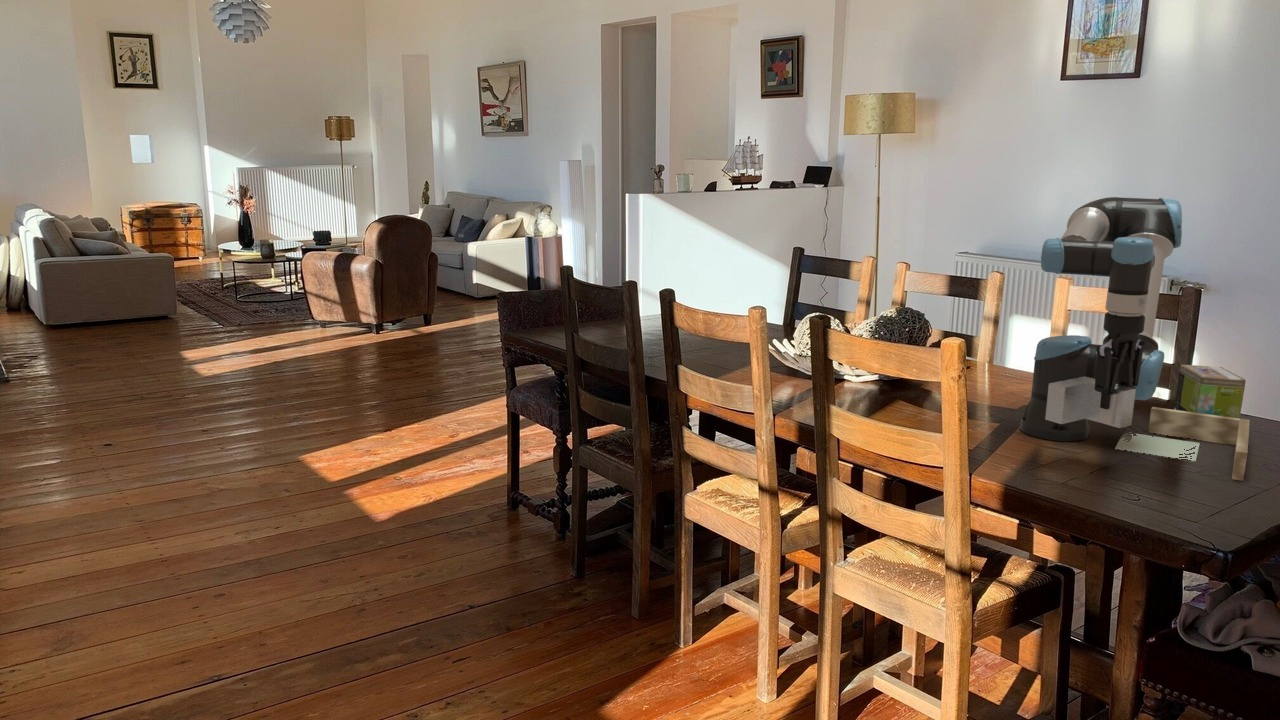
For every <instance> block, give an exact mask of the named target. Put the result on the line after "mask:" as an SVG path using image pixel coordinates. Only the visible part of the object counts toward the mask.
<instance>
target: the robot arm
mask: <svg viewBox="0 0 1280 720" xmlns="http://www.w3.org/2000/svg"><path fill="white" fill-rule="evenodd" d="M1182 209H1183V208H1182V205H1181V203H1180V202H1179V201H1178V200H1176V199H1171V198H1170V199H1168V198H1166V199H1165V198H1163V197H1160V198H1142V197H1139V198H1138V197H1118V196H1117V197H1116V196H1110V197H1104V198H1099V199H1095V200H1091V201H1090V202H1087V203H1085V204H1083V205H1081V206H1080V207H1078V208H1077V209H1075V210H1074V211H1073V212H1072V213H1071V215H1070V216H1069V218H1068V220H1067V224H1066V230H1065V232H1064V233H1063V235H1062V236H1061V238H1059V237H1057V238H1047V239H1046V240H1045V241H1044V242H1043V245H1042V249H1041V255H1040V266H1041V270H1042V271H1043V272H1045V273H1051V274H1056V275H1060V274H1062V275H1063V274H1064V275H1065V274H1066V275H1078V276H1079V275H1080V276H1093V277H1095V276H1096V277H1097V276H1098V277H1108V280H1109V281H1108V288H1107V293H1106V299H1105V300H1106V301H1105V310H1106V311H1107V312H1106V313H1105V314H1104V320H1103V330H1104V331H1105V332H1107V335H1106V336H1105V337H1104V338H1103V340H1102V344H1093V340H1092V339H1091V337H1090V336H1086V335H1077V334H1076V335H1070V334H1069V335H1054V336H1049V337H1045V338H1042V339H1041V340H1039V341H1038V342H1037V345H1036V349H1035V356H1034V357H1033V360H1034V365H1033V374H1032V375H1033V376H1032V385H1031V393H1030V394H1031V396H1030V398H1029V399H1030V400H1029V401H1028V404H1027V406H1026V408H1025V410H1024V412H1023V415H1022V416H1021V419H1020V426H1019V429H1020V431H1022V432H1023V433H1024V434H1027V435H1029V436H1032V437H1035V438H1040V439H1044V440H1051V441H1060V442H1061V441H1062V442H1076V441H1077V442H1078V441H1082V440H1086V439H1088V438H1089V434H1090V425H1089V422H1088V419H1082V420H1077V421H1073V422H1069V423H1065V424H1059V423H1056V422H1052V421H1049V420H1045V417H1046V407H1047V397H1048V387H1049V383H1054V382H1059V381H1064V380H1069V379H1074V378H1079V377H1084V376H1085V377H1089V378H1093V379H1095V390H1096V391H1097V392H1101V401H1100V413H1099V422H1102V423H1101V424H1103V423H1105V424H1104V425H1106V424H1109V425H1108V426H1110V425H1112V423H1113V415H1114V406H1115V398H1116V394H1113V392H1114V388H1115V384H1118V385H1123V386H1127V387H1131V388H1135V389H1136V392H1135V401H1136V400H1138V401H1147V400H1150V399H1151V398H1152V397H1153V396H1154V394H1155V393H1156V389H1157V388H1158V384H1159V381H1160V378H1161V374H1162V369H1163V367H1164V366H1163V365H1164V360H1165V352H1164V351H1162V350H1159V348H1160V347H1159V343H1158V342H1157V341H1156V340H1155V338H1154V337H1153V335H1154V330H1155V323H1156V317H1157V311H1158V303H1159V298H1160V291H1161V284H1162V278H1163V271H1164V265H1165V259H1167V258H1168V257H1170V256H1171V255H1172V254H1173V252H1174V249H1178V248H1180V247H1181V246H1182V245H1181V244H1182V238H1183V237H1182V234H1183V233H1182V232H1183V230H1182V229H1183V228H1182V225H1183V213H1182ZM1099 422H1098V423H1099Z"/></svg>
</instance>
